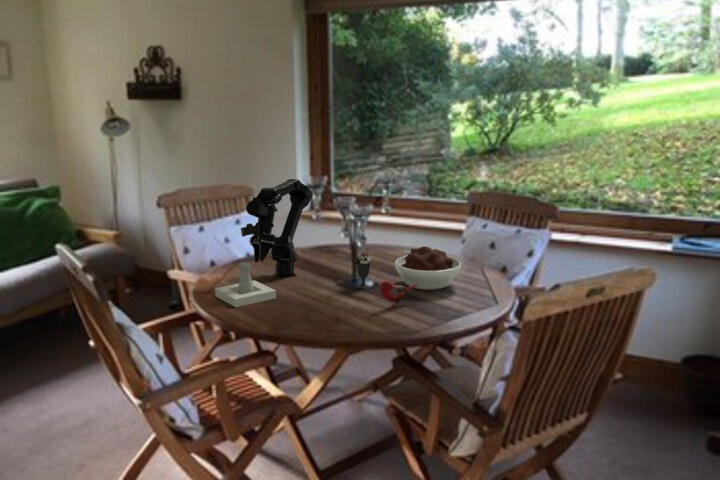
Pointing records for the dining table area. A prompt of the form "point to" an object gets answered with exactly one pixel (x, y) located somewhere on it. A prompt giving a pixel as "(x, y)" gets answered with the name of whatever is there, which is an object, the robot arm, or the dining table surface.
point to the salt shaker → (245, 279)
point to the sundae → (363, 268)
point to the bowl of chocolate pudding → (427, 268)
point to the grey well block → (236, 300)
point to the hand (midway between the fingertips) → (258, 261)
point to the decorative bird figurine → (394, 292)
